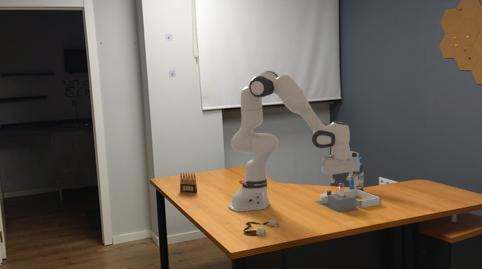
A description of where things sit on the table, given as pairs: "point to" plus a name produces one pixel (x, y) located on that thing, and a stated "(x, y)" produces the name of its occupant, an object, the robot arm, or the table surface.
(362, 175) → the beverage bottle
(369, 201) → the tray
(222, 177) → the table surface
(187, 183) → the ammunition clip
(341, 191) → the lock pin
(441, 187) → the table surface
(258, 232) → the cable
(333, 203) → the grey rectangular block
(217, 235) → the table surface
